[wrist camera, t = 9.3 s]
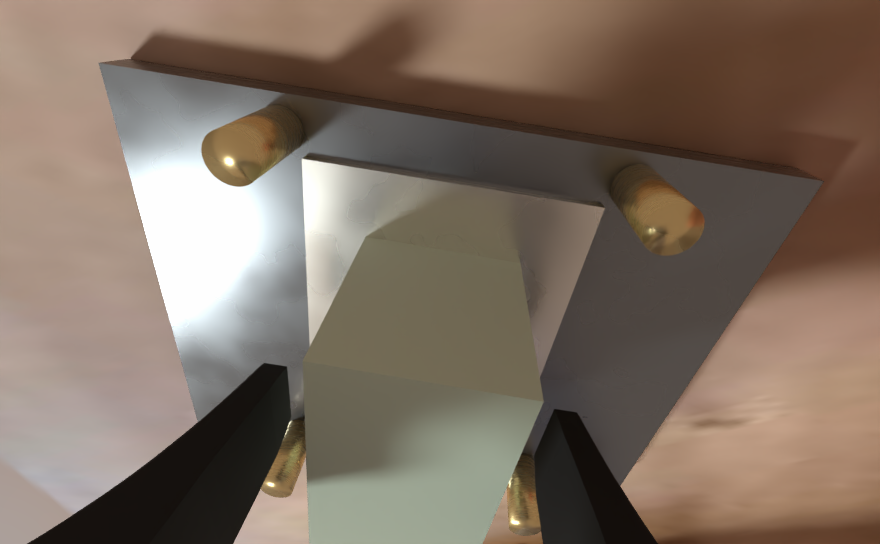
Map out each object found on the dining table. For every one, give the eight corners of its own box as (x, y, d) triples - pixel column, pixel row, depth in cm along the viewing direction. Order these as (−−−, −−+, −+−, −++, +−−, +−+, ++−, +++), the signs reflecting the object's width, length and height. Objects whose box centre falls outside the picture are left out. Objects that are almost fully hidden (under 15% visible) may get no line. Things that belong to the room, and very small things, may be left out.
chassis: (797, 168, 11) (914, 225, 8) (609, 470, 19) (634, 557, 16) (128, 58, 11) (-4, 76, 8) (211, 407, 18) (161, 483, 15)
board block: (520, 262, 12) (543, 401, 8) (473, 419, 16) (471, 570, 11) (365, 236, 12) (302, 361, 8) (355, 399, 16) (309, 543, 11)
